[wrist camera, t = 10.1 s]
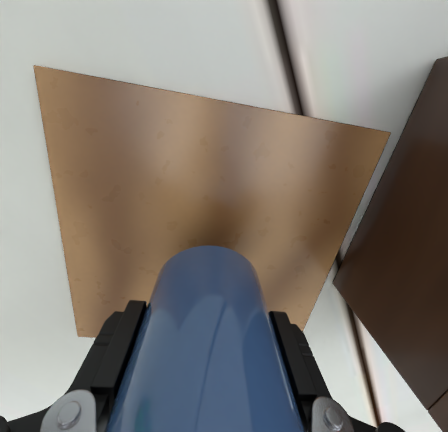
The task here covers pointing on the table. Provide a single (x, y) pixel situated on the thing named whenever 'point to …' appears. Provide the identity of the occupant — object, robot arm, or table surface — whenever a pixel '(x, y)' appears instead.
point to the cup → (206, 353)
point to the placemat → (195, 189)
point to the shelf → (409, 253)
